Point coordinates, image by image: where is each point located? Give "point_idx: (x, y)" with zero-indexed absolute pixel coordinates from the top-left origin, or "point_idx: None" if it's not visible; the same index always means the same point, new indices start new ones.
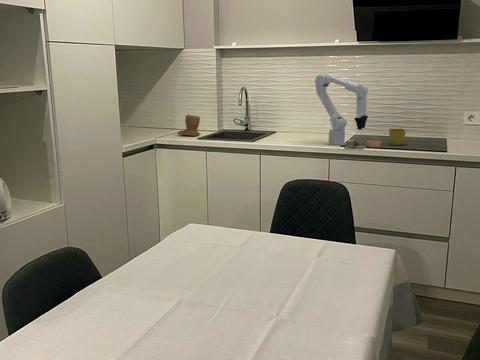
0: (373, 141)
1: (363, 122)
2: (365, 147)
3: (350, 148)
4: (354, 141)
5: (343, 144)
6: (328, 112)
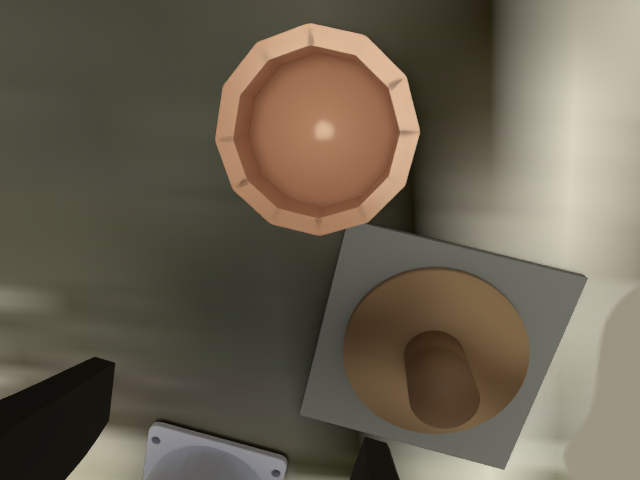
0: (238, 135)
1: (10, 475)
2: (439, 241)
3: (529, 410)
4: (467, 413)
5: (283, 460)
6: None
